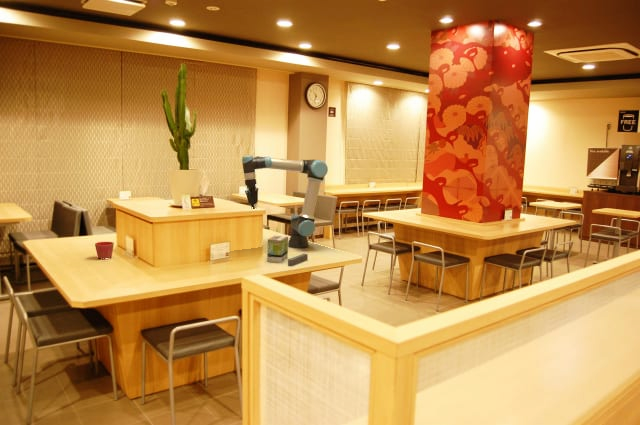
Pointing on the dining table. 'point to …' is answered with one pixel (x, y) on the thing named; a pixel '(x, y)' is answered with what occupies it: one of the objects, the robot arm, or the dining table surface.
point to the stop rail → (297, 259)
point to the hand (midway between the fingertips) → (254, 213)
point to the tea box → (277, 249)
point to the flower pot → (104, 249)
